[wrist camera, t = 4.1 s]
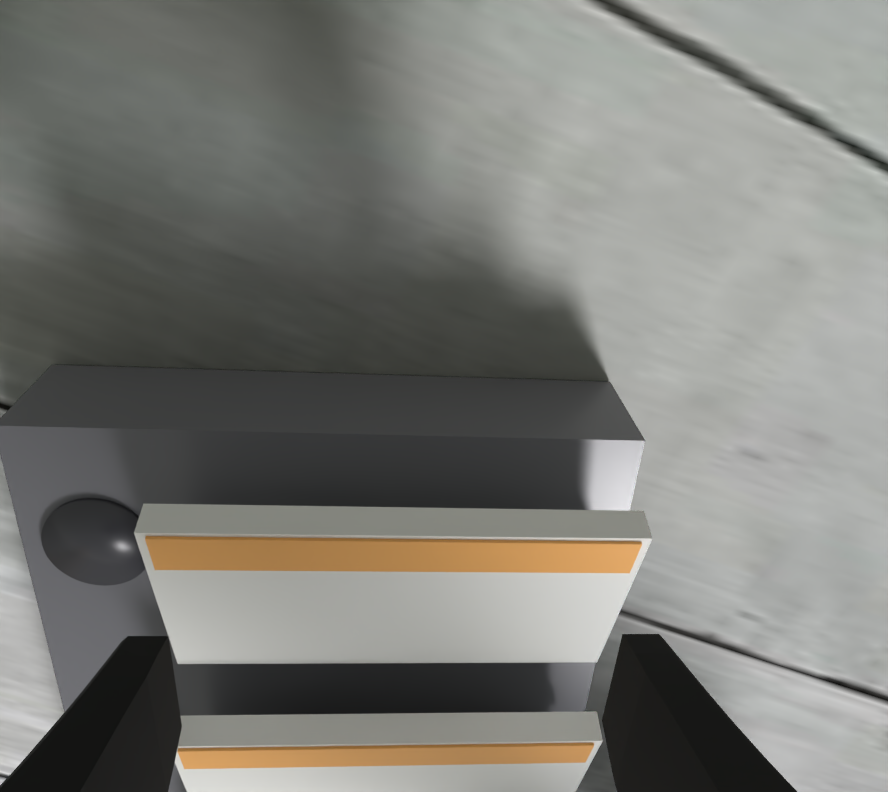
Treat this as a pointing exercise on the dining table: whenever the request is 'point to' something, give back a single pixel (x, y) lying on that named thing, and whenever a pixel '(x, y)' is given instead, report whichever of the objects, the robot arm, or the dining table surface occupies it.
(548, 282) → the dining table surface
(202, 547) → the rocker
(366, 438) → the rocker switch panel
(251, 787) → the rocker middle
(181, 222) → the dining table surface
